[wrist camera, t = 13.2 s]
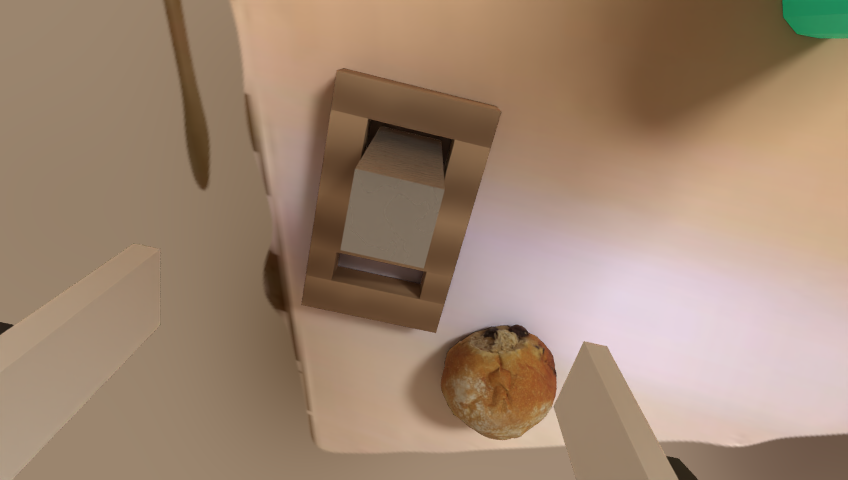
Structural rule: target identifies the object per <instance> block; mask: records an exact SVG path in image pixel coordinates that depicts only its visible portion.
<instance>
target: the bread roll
mask: <svg viewBox="0 0 848 480" xmlns="http://www.w3.org/2000/svg"><path fill="white" fill-rule="evenodd" d="M441 389H442V393H443V395H444V397H445V399H446V401H447V404H448V406H449V407H450V409H451V411H452V412H453V415H455V416H456V417H458V418H460V419H461V420H462V421H463V422H464V423H466V424H467V425H468V426H469V427H471V428H472V429H474V430H475V431H477V432H478V433H480V434H481V435H483V436H486V437H488V438H491V439H497V440H507V439H511V438H518V437H521V436H522V435H523V434H524V433H525V432H526V431H527V430H529V429H531V428H532V427H533V426H534V425H536V424H538V423H539V422H540V421H541V420H542V419H543V418H544V417H545V416H546V415H547V413H548V412H549V410H550V409H551V407H552V405H553V401H554V398H555V395H556V390H557V388H556V371H555V363H554V359H553V355H552V354H551V351H550V350H549V349H548V348H547V347H546V345H545V344H544V343H543V342H542V341H541V340H540V339H539V338H538V337H536V336H535V335H533V334H530V333H528V331H527V330H526V329H525V328H524V327H523V326H519V325H514V326H511V327H509V326H497V327H490V328H488V329H485V330H481V331H477V332H474V333H472V334H471V335H469V336H468V337H466V338H465V339H463V340H462V341H459V342H458V343H457V344H456V345H455V346H453V347H452V348H451V349H450V350H449V351H448V352H447V356H446V360H445V367H444V370H443V374H442V379H441Z"/></svg>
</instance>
